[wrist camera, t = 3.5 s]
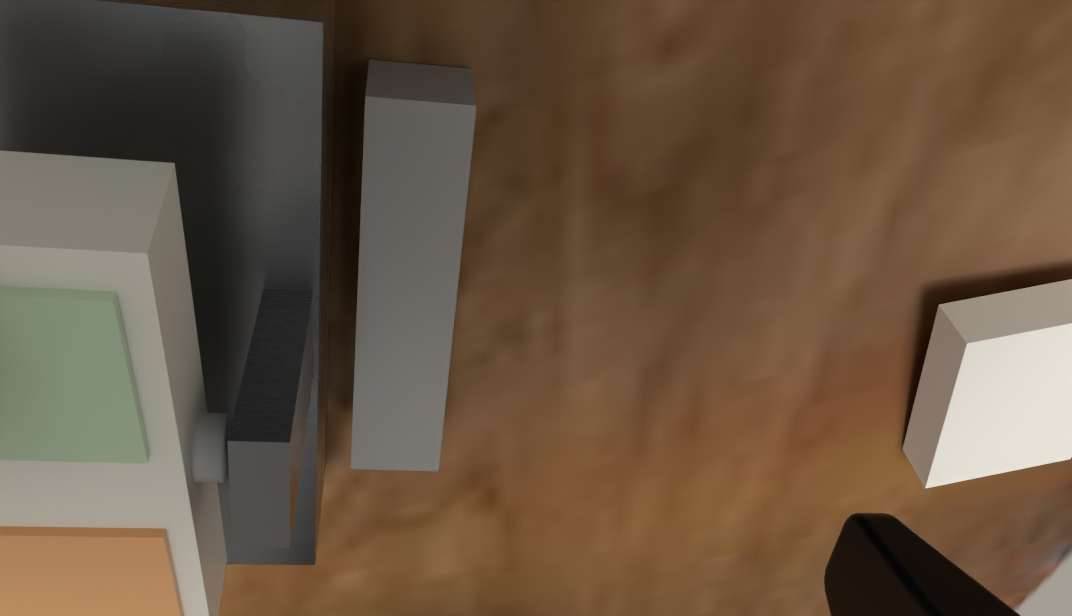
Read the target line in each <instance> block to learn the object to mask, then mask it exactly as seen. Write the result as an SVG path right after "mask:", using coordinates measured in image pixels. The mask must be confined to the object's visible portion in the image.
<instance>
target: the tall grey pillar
mask: <svg viewBox="0 0 1072 616" xmlns="http://www.w3.org/2000/svg"><path fill="white" fill-rule="evenodd" d="M476 108H477V104H476V98H475V92H474V85H473V79H472V73H471V69H470V68H459V67H448V66H437V65H426V64H415V63H404V62H393V61H383V60H372V59H369V65H368V75H367V85H366V95H365V118H364V143H363V168H362V193H361V218H360V243H359V268H358V293H357V318H356V343H355V368H354V394H353V419H352V444H351V469H370V470H412V471H439V463H440V453H441V444H442V434H443V424H444V415H445V405H446V396H447V386H448V377H449V367H450V357H451V348H452V338H453V329H454V319H455V309H456V300H457V290H458V281H459V271H460V262H461V252H462V242H463V233H464V223H465V214H466V204H467V194H468V185H469V175H470V166H471V156H472V147H473V137H474V127H475V118H476Z"/></svg>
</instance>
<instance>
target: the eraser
mask: <svg viewBox="0 0 1072 616" xmlns="http://www.w3.org/2000/svg"><path fill="white" fill-rule="evenodd" d="M902 450H903V451H904V453H905V455H906V456H907V458H908V460H909V462H910V463H911V465H912V467H913V468H914V470H915V472H916V474H917V475H918V477H919V479H920V480H921V482H922V484H923V486H924V487H925V488H930V487H935V486H940V485H945V484H950V483H955V482H960V481H965V480H969V479H974V478H979V477H984V476H989V475H994V474H999V473H1004V472H1009V471H1014V470H1019V469H1024V468H1029V467H1033V466H1038V465H1043V464H1048V463H1053V462H1058V461H1063V460H1068V459H1071V457H1072V279H1070V280H1064V281H1059V282H1054V283H1049V284H1044V285H1038V286H1033V287H1028V288H1023V289H1017V290H1012V291H1007V292H1002V293H997V294H991V295H986V296H981V297H976V298H971V299H965V300H960V301H955V302H950V303H944V304H939V306H938V310H937V314H936V317H935V321H934V325H933V329H932V333H931V337H930V341H929V345H928V349H927V353H926V357H925V361H924V365H923V369H922V373H921V377H920V381H919V385H918V389H917V393H916V397H915V401H914V405H913V409H912V413H911V417H910V421H909V425H908V429H907V433H906V437H905V441H904V445H903V449H902Z"/></svg>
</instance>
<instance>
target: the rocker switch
mask: <svg viewBox="0 0 1072 616" xmlns="http://www.w3.org/2000/svg"><path fill="white" fill-rule="evenodd" d="M230 428H231V416H230V414H229V413H208V412H207V404H206V397H205V389H204V381H203V374H202V366H201V359H200V351H199V344H198V336H197V329H196V321H195V314H194V306H193V299H192V291H191V284H190V276H189V269H188V261H187V254H186V246H185V238H184V231H183V223H182V216H181V208H180V201H179V193H178V186H177V178H176V171H175V163H166V162H152V161H138V160H124V159H110V158H96V157H83V156H69V155H55V154H41V153H27V152H13V151H0V616H218V615H219V608H220V602H221V596H222V590H223V584H224V577H225V571H226V565H227V555H226V547H225V540H224V532H223V524H222V517H221V509H220V502H219V494H218V487H217V483H224V482H225V481H226V478H227V474H228V469H229V463H228V443H227V441H228V436H229V432H230Z"/></svg>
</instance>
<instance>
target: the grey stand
mask: <svg viewBox="0 0 1072 616" xmlns="http://www.w3.org/2000/svg"><path fill="white" fill-rule="evenodd" d="M335 6H336V0H0V151H13V152H27V153H41V154H55V155H69V156H83V157H96V158H110V159H124V160H138V161H152V162H166V163H175V171H176V178H177V186H178V193H179V201H180V208H181V216H182V223H183V231H184V238H185V246H186V254H187V261H188V269H189V276H190V284H191V291H192V299H193V306H194V314H195V321H196V329H197V336H198V344H199V351H200V359H201V366H202V374H203V381H204V389H205V397H206V404H207V412H208V413H229V414H230V416H231V428H230V432H229V436H228V441H227V443H228V463H229V469H228V474H227V478H226V481H225V482H224V483H217V487H218V494H219V502H220V509H221V517H222V524H223V532H224V540H225V547H226V555H227V564H284V565H315V560H316V551H317V541H318V532H319V522H320V513H321V503H322V493H323V484H324V474H325V465H326V422H327V376H328V329H329V283H330V237H331V191H332V144H333V98H334V52H335Z"/></svg>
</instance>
